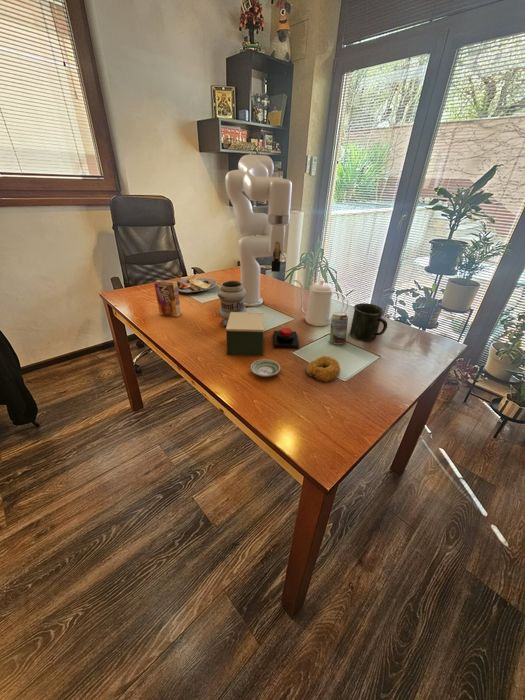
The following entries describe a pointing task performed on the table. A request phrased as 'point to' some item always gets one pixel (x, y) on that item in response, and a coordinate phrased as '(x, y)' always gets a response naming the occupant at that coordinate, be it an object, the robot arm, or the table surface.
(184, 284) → the food plate
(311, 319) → the coffeepot
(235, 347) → the box
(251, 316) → the lid
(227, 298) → the apothecary jar
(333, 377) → the bagel
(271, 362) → the saucer
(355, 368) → the table surface
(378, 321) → the mug
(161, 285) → the candy box
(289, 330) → the button
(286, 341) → the switch block
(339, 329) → the beverage can
